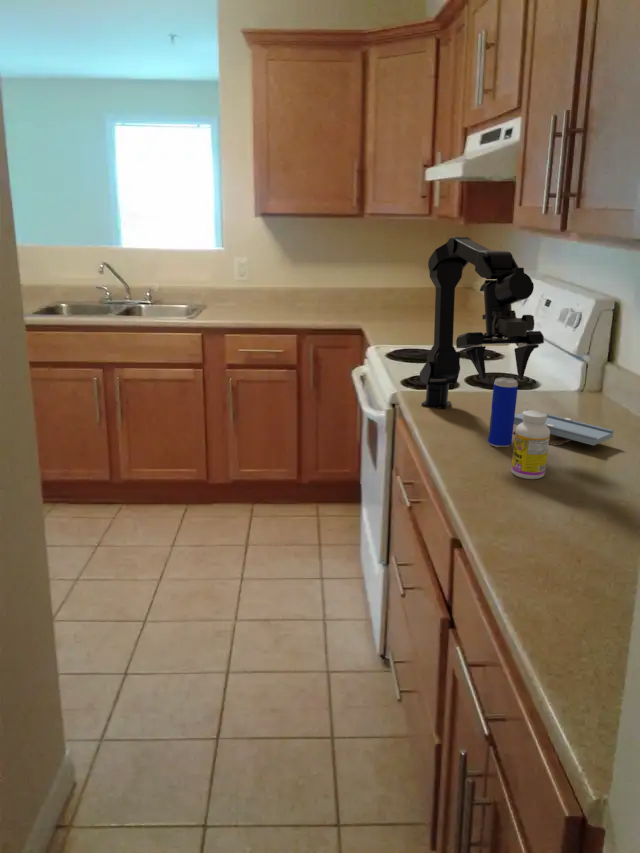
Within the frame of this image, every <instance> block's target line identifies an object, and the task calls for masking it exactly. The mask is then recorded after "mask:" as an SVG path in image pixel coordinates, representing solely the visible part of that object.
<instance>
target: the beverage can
mask: <svg viewBox="0 0 640 853" xmlns="http://www.w3.org/2000/svg"><path fill="white" fill-rule="evenodd" d="M518 388H519V383H518V380H517V379H514V378H510V377H497V378H495V380H494V382H493V390H492V399H491V410H490V417H489V418H490V419H489V429H488V430H489V431H488V438H487V439H488V440H487V442H488V444H489V445H490V446H491V445H492V447H493V446H495V447H494V448H498V447H507V448H509V447H511V445H512V442H513V432H514V425H515V424H514V417H515V415H516V406H517V398H518V390H519V389H518Z"/></svg>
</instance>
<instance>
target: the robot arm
mask: <svg viewBox="0 0 640 853" xmlns="http://www.w3.org/2000/svg"><path fill="white" fill-rule="evenodd" d="M469 263H470V264H471V265H473V266H474V271H475V272H476V274H478V276H479V277H481V278H482V279H485V280H484V282H483V284H482V285H481V286H480V289H479V292H483V295H484V296H483V300H484V301H483V302H484V314H482V316H481V317H482V320H484V321H485V332H484V333H483V332H466V333H463V334H459V335H458V336H457V338H456V341H455V343H456V347H454V328H455V327H454V325H455V324H454V323H455V322H454V321H455V297H456V296H455V293H456V287H457V285H458V284H459V283H460V281H461V280H462V277H463V271H464V269H465V268H466V266H467V265H468V264H469ZM427 264H428V269H429V278H430V280H431V282H432V284H433V285H434V286H433V287H435V296H434V297H435V300H434V328H433V329H434V332H433V333H434V334H433V345H432V346H431V347H430V350H429V351H428V353H427V356H426V362H425V364H424V365H423V367H422V369H420V372H419V380H420V382H421V383H423V384H425V385H426V392H425V393H426V394H425V400H423V402H421V406H423V407H429V408H436V409H446V408H448V407H449V406H450V405H452V402H451V401H450V400H448V397H449V386H450V385H451V384H455V385H456V384H457V382H458V379H459V375H460V371H461V365H460V363H461V361H460V360H461V354H460V352H459V351H457V349H461V351H462V353H466V355H467V357H468V358H469V360H470V361H471V363H472V364H473V366H474V368H475V370H476V372H477V374H478V375H479V377H480V379H481V381H484V380H486V363H485V351H486V349H487V348H486V346H483V345H504V344H506V345H508V344H509V345H511V344H515V345H516V346H517V347H516V348H515V347H514V355H515V356H514V357H515V362H516V370H517V371H516V372H517V376H518V379H523V378H524V375H525V372H526V368H527V365H528V362H529V359H530V357H531V355H532V352H533V351H534V350H535V349H537V348H540V345H543V344H545V339H544V338H545V336H544V335H543V333H542V331H541V330H534V329H535V317H534V316H535V315H532V314H522V316H521V317H517V315H516V314H517V313H516V311H515V310H512V305H513V304H515V303H518V302H520V301H523V300H526V299H528V298H529V297H531V296H532V294H533V293H534V288H535V287H534V282H533V280H532V278H531V277H530V275H528V274H527V273H525V268H524V267H519V266H518V264H517V262H516V261H515V258H514V256H513V254H512V253H511V252H510V251H507V250H496V249H495V250H493V249H490V248H487V247H485V246H483V245H481V244H480V243H477V242H476V241H474V240H473V239H471V238H469V237H468V236H452V237H450V238H449V239H448V240H447V242H446V243H444V244H442V245H441V246H439V247H437V248H435V250H434V251H433V253H432V254H431V256H429V258H428V262H427Z"/></svg>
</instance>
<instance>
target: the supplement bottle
mask: <svg viewBox="0 0 640 853" xmlns="http://www.w3.org/2000/svg"><path fill="white" fill-rule="evenodd" d="M522 413H523V414H522V419H523V423H520V424H519V425H516V427H515V433H514V442H513V449H512V456H511V457H512V458H511V468H510V471H511V472H512V474H513V475H514V476H516V477H519V478H521V479H525V480H537V479H541V478H543V477H544V476H545V474H546V468H547V460H548V451H549V445H550V444H549V437H550V430H549V428H548V427H547V426H546V425H545V422H546V421H547V414H548V413H546V412H544V411H541V410H534V409H530V410H529V411H526V410H524V411H522Z"/></svg>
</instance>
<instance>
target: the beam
mask: <svg viewBox="0 0 640 853" xmlns="http://www.w3.org/2000/svg"><path fill="white" fill-rule="evenodd" d="M529 410H531V409H529V408H527V409H525V411H529ZM522 414H523V412H521V413H517V414H515V417H514V425H516V426H518V425H519V424H520V423H523V419H522ZM546 414H547V421H546V422H545V425H546V426H547V427H548V428H549V430H550V434H553V435H556V436H560V437H564V438H567V439H571V440H570V441H575V442H580V443H582V444H587V445H591V446H596V445H598V444H600V443H603V442H605V441H608V440H610V439H612V438H614V430H613V429H609V428H605V427H602V426H597V425H595V424H590V423H585V422H582V421H579V420H573V419H572V418H569V417H563V416H562V417H561V416H557V415H553V414H549V413H546Z"/></svg>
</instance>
